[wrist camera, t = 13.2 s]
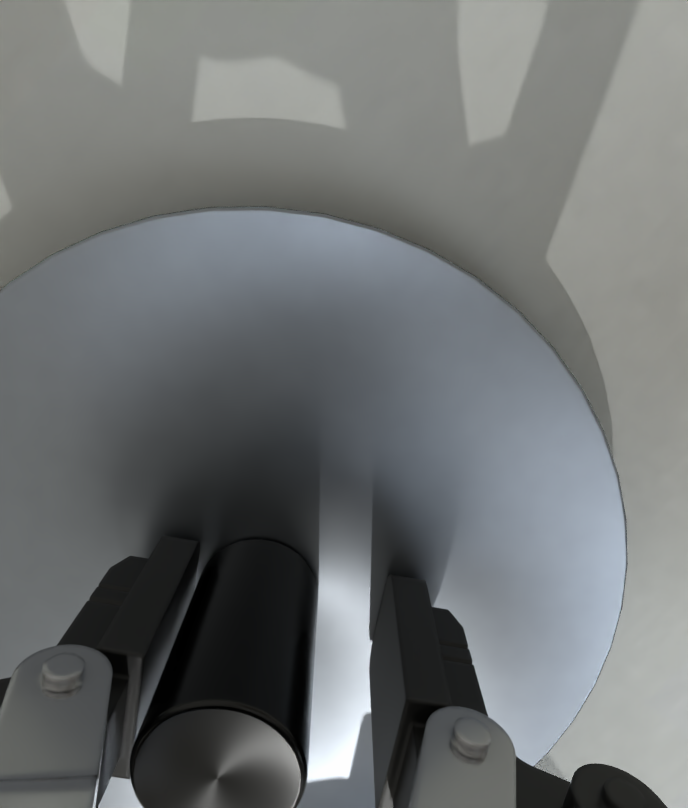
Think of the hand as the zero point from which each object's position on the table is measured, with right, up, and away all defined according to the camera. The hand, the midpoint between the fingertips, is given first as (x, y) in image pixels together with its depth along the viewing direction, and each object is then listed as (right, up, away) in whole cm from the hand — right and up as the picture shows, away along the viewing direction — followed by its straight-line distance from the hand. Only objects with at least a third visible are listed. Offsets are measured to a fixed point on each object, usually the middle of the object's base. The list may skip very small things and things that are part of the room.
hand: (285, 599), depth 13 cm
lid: (-1, 0, +1) cm, 1 cm away
